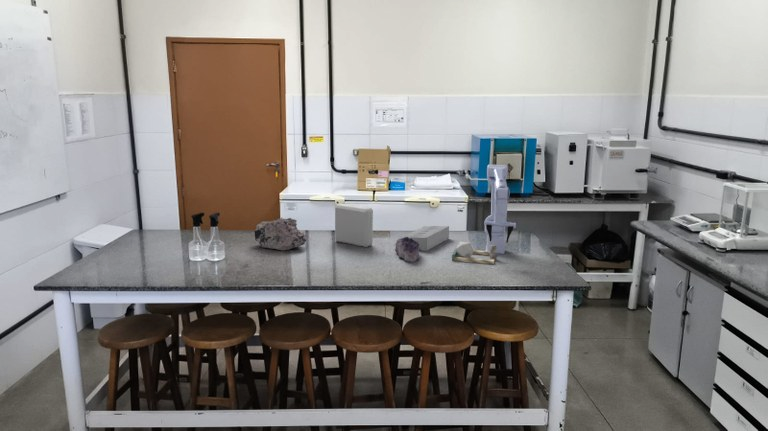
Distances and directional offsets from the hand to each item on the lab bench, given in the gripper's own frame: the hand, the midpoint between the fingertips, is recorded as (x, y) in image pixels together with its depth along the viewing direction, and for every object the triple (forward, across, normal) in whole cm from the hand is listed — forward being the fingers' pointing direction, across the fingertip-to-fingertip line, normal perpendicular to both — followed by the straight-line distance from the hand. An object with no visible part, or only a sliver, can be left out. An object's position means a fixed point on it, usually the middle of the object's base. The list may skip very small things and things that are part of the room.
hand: (498, 241), depth 264 cm
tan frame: (+10, -11, +4) cm, 16 cm away
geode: (+11, -42, -4) cm, 44 cm away
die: (+11, -16, +2) cm, 19 cm away
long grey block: (+11, -39, +24) cm, 47 cm away
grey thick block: (+11, -75, +12) cm, 77 cm away
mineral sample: (+11, -109, -5) cm, 110 cm away
